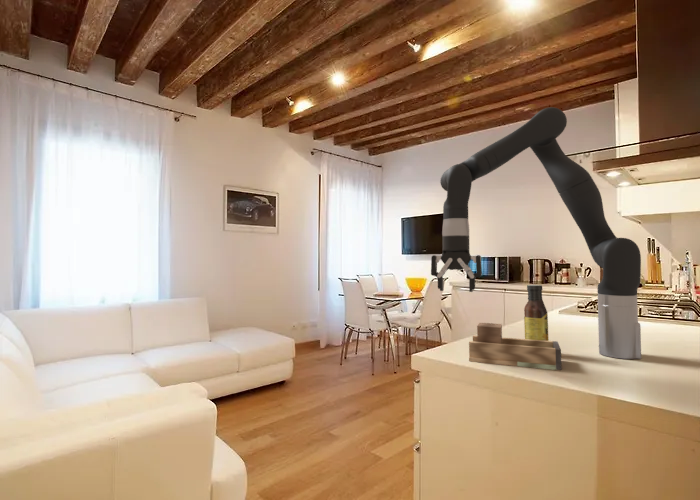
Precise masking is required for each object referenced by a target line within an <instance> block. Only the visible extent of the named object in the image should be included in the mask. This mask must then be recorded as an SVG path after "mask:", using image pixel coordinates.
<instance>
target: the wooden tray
mask: <svg viewBox="0 0 700 500" xmlns="http://www.w3.org/2000/svg"><path fill="white" fill-rule="evenodd" d="M468 349H469V350H468V353H469V357H468V361H469V362H473V363H484V364H492V365H501V366H502V365H503V366H504V365H505V366H512V367H522V368H523V367H525V368H533V369H534V368H535V369H541V370H542V369H544V370H553V371H557V370H560V371H562V348H561V347H560V344H559V342H558V340H555V341H554V340H549V341H543V340H530V339H525V338H514V337H513V338H512V337H502V344H499V343H486V342H477V335H472V340H469V342H468Z"/></svg>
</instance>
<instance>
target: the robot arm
mask: <svg viewBox="0 0 700 500" xmlns="http://www.w3.org/2000/svg"><path fill="white" fill-rule="evenodd" d="M567 122H568V120H567V116H566V114H565V113H564V112H563V110H561V109H559V108H557V107H553V106H552V107H551V106H550V107H549V106H548V107H545V108H543V109H541V110H539V111H538V112H536V113H535V114H534V115H533V116H532V117H531V118H530V119H529V120H528V121H527V122H526V123H524V124H523V125H521V126H520V127H518V128H517V129H516V130H514V131H513V132H511V133H509V134H508V135H506V136H504V137H502V138H500V139H499V140H497V141H495V142H493V143H490V144H489V145H488V146H486V147H484V148H483V149H481V150H479V151H477V152H475V153H474V154H472V155H471V156H470V157H468V158H467V159H466V160H464V161H462V162H460V163H459V164H458V163H457V164H455V165H452V166H450V167H449V168H448V169H446V170H445V171H444V172H443V173H442V175H441V176H440V181H439V183H440V186H441V188H442V189H443V190H444V191H446V192H447V193H446V199H445V201H444V202H443V210H442V211H443V218H442V231H441V235H442V253H441V255H436V254H433V255H432V256H431V263H430V264H431V267H430V275H431V276H433V277H436V278H437V289H438V290H439V291H440V292H443V291H444V287H445V286H444V279H445V278H444V276H445V274H446V273H447V272H448V270H450V271H453V270H457V271H462V270H464V271H465V273H466V274H467V276H468V277H469V280H468V281H469V288H468V289H469V290H468V291H469V293H470V292H471V293H473V292H474V290H476V278H478V277H481V276H482V274H483V272H482V271H483V270H482V269H483V267H482V266H483V265H482V256H481V255H480V254H476V255H471V253H470V252H471V251H470V224H469V202H470V201H469V200H470V196H471V190H472V182H473V183H474V181H476V180H477V179H479V178H483V177H484V176H486V175H488V174H490V173H492V172H493V171H495V170H497V169H499V168H500V167H502V166H503V165H504V164H506V163H508V162H510V161H511V160H512V159H513V158H515V157H516V156H518V155H519V154H520V153H523V151H525V150H527V149H529V148H530V149H531V151H533V154H534V155H535V156H536V158H538V160H539V162H540V164H541V165H542V166H543V168H544V169H545V172H546V173H547V174H548V177H549V179H550V180H551V181H552V183H553V185H554V187H555V189H556V191H557V193H558V195H559V196H560V198H561V200H562V202H563V203H564V205H565V207H566V208H567V210H568V211H569V213H570V215H571V217H572V219H573V220H574V222H575V223H576V226H578V228H579V230H580V232H581V234H582V236H583V238H584V241H585V243H586V246H587V248H588V250H589V253H590V255H591V258H592V260H593V261H594V262H595V264H597V266H599V267H600V268H602V278H601V281H600V282H599V283H598V284H597V309H598V310H597V322H598V324H597V325H598V352H599V354H600V355H602V356H605V357H611V358H616V359H625V360H633V359H634V360H635V359H640V360H641V359H642V341H641V340H642V334H641V332H642V331H641V328H642V327H641V323H640V322H639V315H638V314H639V312H638V311H639V310H638V288H639V287H640V284H641V273H642V255H641V250H640V248H639V246H638V245H637V243H636V242H635V241H634V240H632V239H630V238H626V237H617V236H616V235H615V233H614V231H613V230H612V228H611V227H610V225H609V224H608V222H607V219H606V216H605V211H604V205H603V198H602V195H601V192H600V190H599V188H598V186H597V184H596V182H595V181H594V179H593V177H592V176H591V174H590V173H589V172H588V171H587V169H585V168H584V167H583V166H581V165H580V164H579V163H577V161H576V162H575V161H574V160H572V158H570V157H568V156H567V155H566V153H564V151H563V149H562V148H561V146H560V144H559V142H558V140H557V138H558V137H559V136H560V135H562V133H563V132H565V129H566V128H567ZM440 260H441V262H442V263H443V264H444V265H443V266H442V267H441V269H440V270H439V272H438V264H439V262H440ZM471 261H472V262H473V263H474V264H476V265H475V266H476V267H475V269H476V270H475V271H476V272H473V270H472V269H471V267H470V266H469V265H468V264H469V263H470V262H471Z"/></svg>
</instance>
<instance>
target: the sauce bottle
mask: <svg viewBox="0 0 700 500" xmlns="http://www.w3.org/2000/svg"><path fill="white" fill-rule="evenodd" d="M526 289H527V300H528V301H527V302H526V304H525V306H524V308H523V310H524V317H523V322H524V324H523V325H524V327H523V328H524V339H530V340H543V341H550V340H549V318H548V317H549V316H548V315H549V314H548V310H547V307H546V306H545V303H544V301H543V285H542V284H528V285H527V286H526Z"/></svg>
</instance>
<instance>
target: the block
mask: <svg viewBox="0 0 700 500" xmlns="http://www.w3.org/2000/svg"><path fill="white" fill-rule="evenodd" d="M502 326H503V324H502V323H492V322H491V323H489V322H478V323H477V325H476V328H477V329H476V331H477V333H476V334H477V335H476V336H477V342H486V343H499V344H502V338H503V331H502V330H503V327H502Z"/></svg>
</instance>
